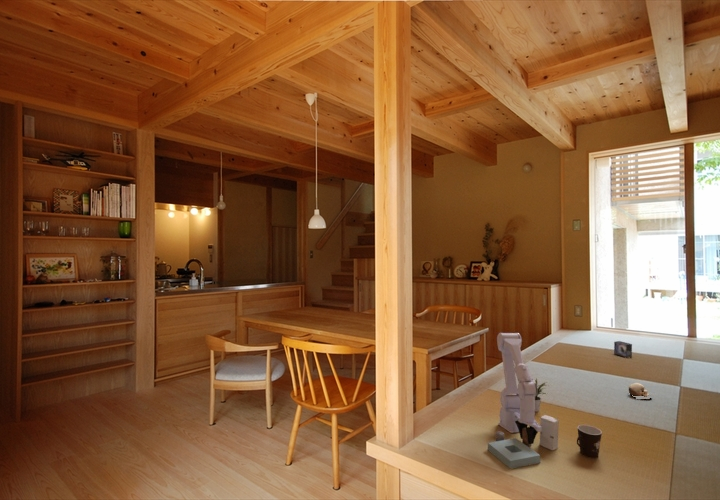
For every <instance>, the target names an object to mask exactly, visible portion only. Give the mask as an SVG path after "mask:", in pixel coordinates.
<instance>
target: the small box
mask: <svg viewBox="0 0 720 500" xmlns="http://www.w3.org/2000/svg"><path fill="white" fill-rule="evenodd" d="M613 343H614V344H613V345H614V346H613V351H614V353H613V354H614V355H616V356H619V357H623V358H625V357H626V358H627V357H630V358H633V344H632V343H629V342H625V341H621V340H618V341H614V342H613ZM627 359H628V358H627Z"/></svg>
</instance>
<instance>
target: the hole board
mask: <svg viewBox="0 0 720 500" xmlns="http://www.w3.org/2000/svg"><path fill="white" fill-rule="evenodd" d="M487 451H488V452H490V453H491V454H492V455H493V456H494V457H496V458H497V459H498V460H499V461H500V462H501V463H503V464H504V465H505V466H506V467H508V468H509V469H515V468H516V469H517V468H521V467H527V466H531V465H535V464H540V463H541V455H540V454H539V453H538V452H536V451H535V450H533V449H532V448H531V447H528V446H526V445H525V444H523V443H522V440H519V439H517V438H516V437H515V438H514V437H513V438H509V439H504V440H501V441H496V442H495V441H490V442H487Z"/></svg>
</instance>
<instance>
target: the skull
mask: <svg viewBox="0 0 720 500" xmlns="http://www.w3.org/2000/svg"><path fill="white" fill-rule="evenodd" d="M628 392H629V393H630V395H633V396H644V397H647V396H649V395H650V394H649V391H648V390H647V389H646V387H645V386H644V385H643V384H642V383H639V382H634V383H631V384H630V385H629V386H628ZM630 395H629V396H630Z"/></svg>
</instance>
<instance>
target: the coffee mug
mask: <svg viewBox="0 0 720 500" xmlns="http://www.w3.org/2000/svg"><path fill="white" fill-rule="evenodd" d="M576 430H577V435H578V436H577V438H576V445H577V446H578V447H579V452H580V454H581V455H582V456H584V457H585V458H586V457H587V458H590V459H597V458H599V453H600V448H601V447H600V446H601V442H602V440H601V439H602V434H603V433H602V430H601V429H600V428H598V427H596V426H592V425H589V424H579V425H578V426H577V429H576Z"/></svg>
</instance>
